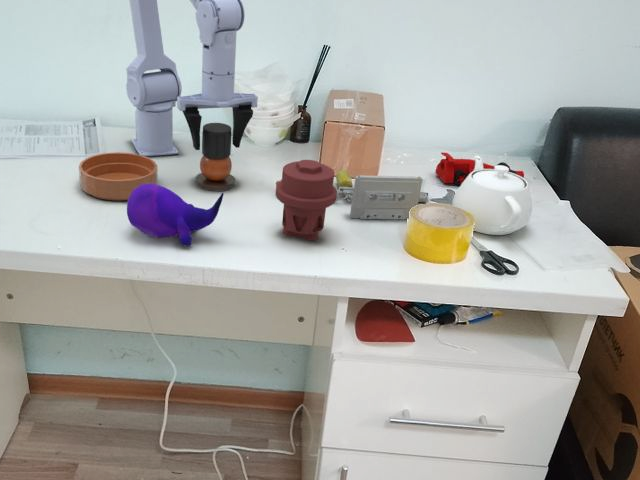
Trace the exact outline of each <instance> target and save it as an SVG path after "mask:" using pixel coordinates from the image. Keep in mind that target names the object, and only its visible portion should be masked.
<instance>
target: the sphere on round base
mask: <svg viewBox="0 0 640 480" xmlns="http://www.w3.org/2000/svg"><path fill="white" fill-rule="evenodd" d="M232 167H233V163H232V159H231V158H230V156H229V157H227V158H225V159H211V158H208V157H205V156H204V155H203V154H202V156H201V159H200V161H199V168H200V172H201V173H198V174H196V176H195V181H194V182H195V185H196V187H198V188H200V189H202V190H204V191H209V192H226V191H229V190H232V189H233V188H235V186H236V177H235V176H234V175H232V174H231V172H232V169H233V168H232Z"/></svg>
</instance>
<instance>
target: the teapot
mask: <svg viewBox="0 0 640 480" xmlns="http://www.w3.org/2000/svg"><path fill="white" fill-rule="evenodd" d="M474 160H475V168H474V171H473V172H471V173H470V174H469V175H468V177H467V178H466V179H465V180H464V182H463V183H462V184H461V186H459V187H458V189H457V190H456V192H455V194H454V196H453V198H452V202H451V203H452V204H451V206H452V205H453V206H456V207H458V208H461V209H463V210H466V211H468V212H470V213H471V214H472V215H474V217H475V225H474V228H473V230H472V231H475V232H477V233H480V234H485V235H492V236H493V235H494V236H503V235H509V234H512V233H514V232H516V231H518V230H520V229H522V228H523V227H525V226H526V225H527V224H528V223H529V222H530V220H531V217H532V211H533V200H532V193H531V189H530V184H529V182H528V181H527V179H525V177H524V178H523V177H521V176H519V175H517V174H514V173H511V172H508V171H509V168H508V167H506V166H502V165H497V164H496V165H497V166H496V165H494V166H495V167H494V168H495V169H484V168H483V163H484V161H483V158H482V157H481V156H479V155H474Z"/></svg>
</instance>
